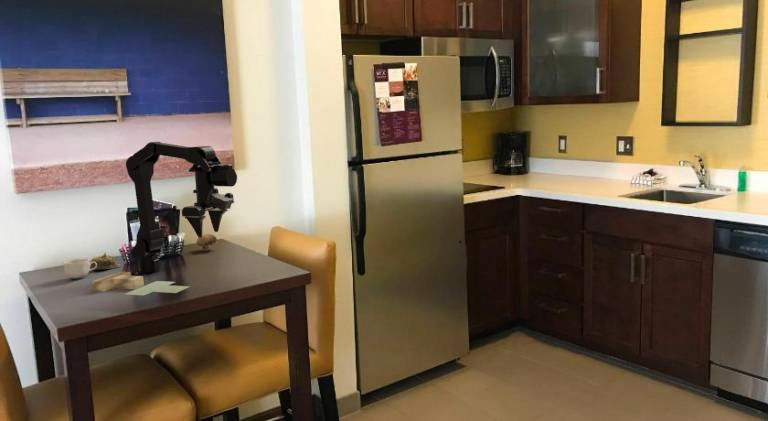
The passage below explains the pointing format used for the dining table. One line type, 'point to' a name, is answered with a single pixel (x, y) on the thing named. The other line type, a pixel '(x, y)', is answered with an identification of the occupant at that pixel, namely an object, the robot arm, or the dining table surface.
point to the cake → (104, 262)
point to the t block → (118, 282)
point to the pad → (157, 288)
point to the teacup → (77, 267)
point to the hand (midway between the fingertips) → (208, 234)
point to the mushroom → (206, 241)
